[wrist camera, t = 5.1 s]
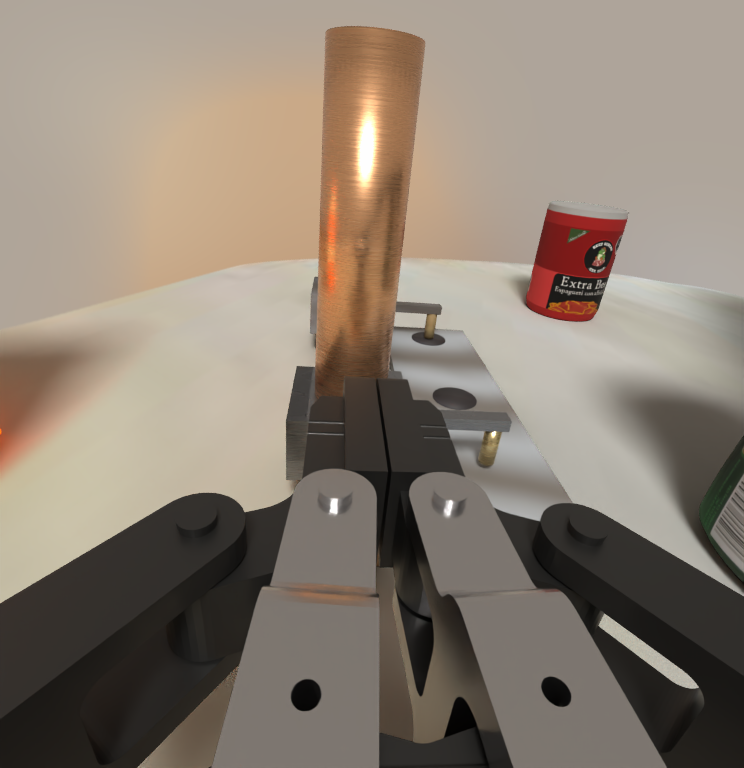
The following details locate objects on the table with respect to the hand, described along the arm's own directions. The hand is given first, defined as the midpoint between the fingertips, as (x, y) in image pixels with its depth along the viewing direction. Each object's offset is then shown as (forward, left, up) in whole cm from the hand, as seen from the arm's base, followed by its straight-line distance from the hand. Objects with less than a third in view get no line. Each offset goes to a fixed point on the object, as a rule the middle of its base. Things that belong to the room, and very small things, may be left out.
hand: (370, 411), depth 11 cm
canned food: (-46, +2, -9) cm, 47 cm away
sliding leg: (-9, -2, -8) cm, 12 cm away
